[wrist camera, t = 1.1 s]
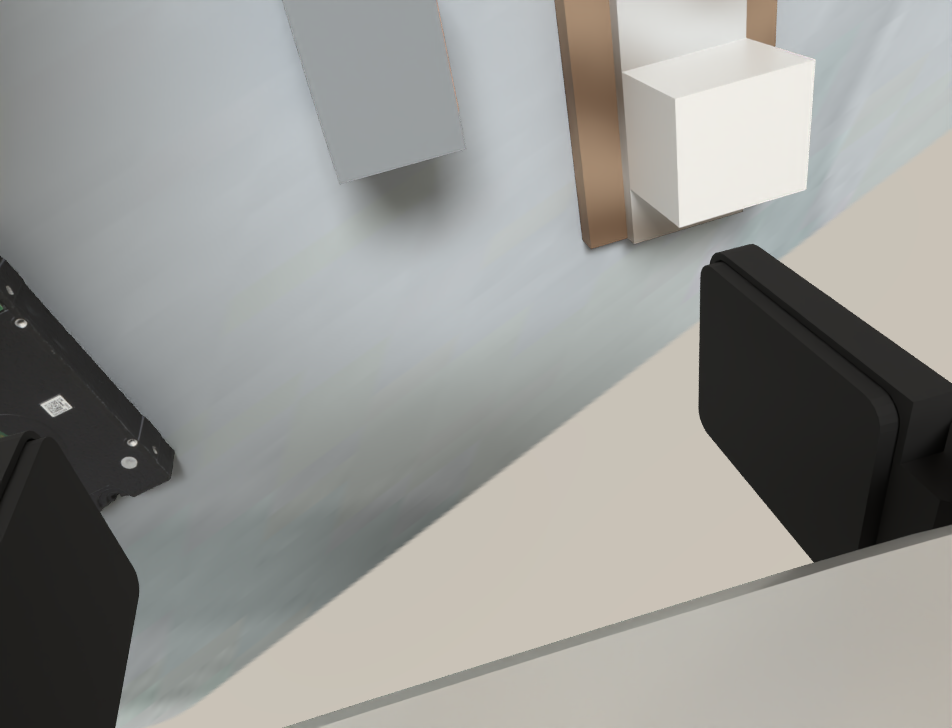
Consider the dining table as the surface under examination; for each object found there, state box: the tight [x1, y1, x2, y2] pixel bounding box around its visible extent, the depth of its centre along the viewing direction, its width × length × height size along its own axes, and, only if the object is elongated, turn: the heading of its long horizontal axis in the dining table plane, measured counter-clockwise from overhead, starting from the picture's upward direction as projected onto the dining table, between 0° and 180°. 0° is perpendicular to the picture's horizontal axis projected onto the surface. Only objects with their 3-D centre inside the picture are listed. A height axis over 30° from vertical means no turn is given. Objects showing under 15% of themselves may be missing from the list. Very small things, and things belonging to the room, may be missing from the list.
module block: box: [282, 0, 466, 184], centre depth 27 cm, size 7×5×9 cm
